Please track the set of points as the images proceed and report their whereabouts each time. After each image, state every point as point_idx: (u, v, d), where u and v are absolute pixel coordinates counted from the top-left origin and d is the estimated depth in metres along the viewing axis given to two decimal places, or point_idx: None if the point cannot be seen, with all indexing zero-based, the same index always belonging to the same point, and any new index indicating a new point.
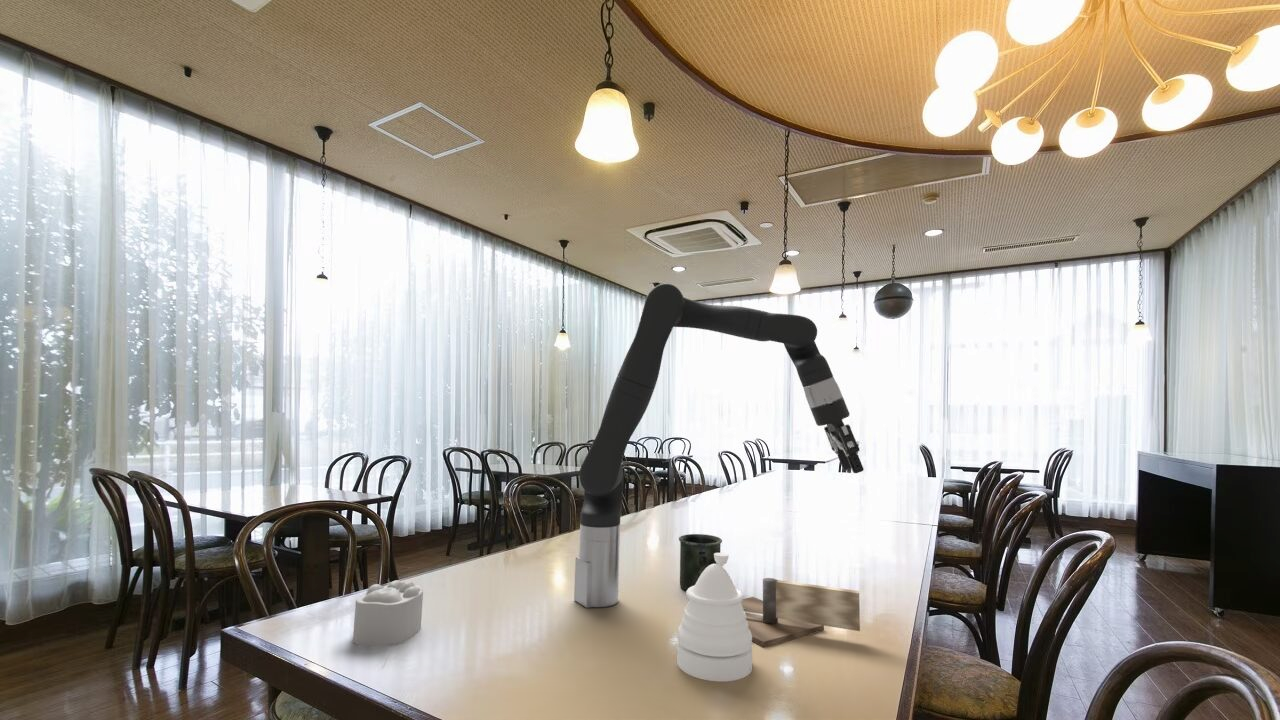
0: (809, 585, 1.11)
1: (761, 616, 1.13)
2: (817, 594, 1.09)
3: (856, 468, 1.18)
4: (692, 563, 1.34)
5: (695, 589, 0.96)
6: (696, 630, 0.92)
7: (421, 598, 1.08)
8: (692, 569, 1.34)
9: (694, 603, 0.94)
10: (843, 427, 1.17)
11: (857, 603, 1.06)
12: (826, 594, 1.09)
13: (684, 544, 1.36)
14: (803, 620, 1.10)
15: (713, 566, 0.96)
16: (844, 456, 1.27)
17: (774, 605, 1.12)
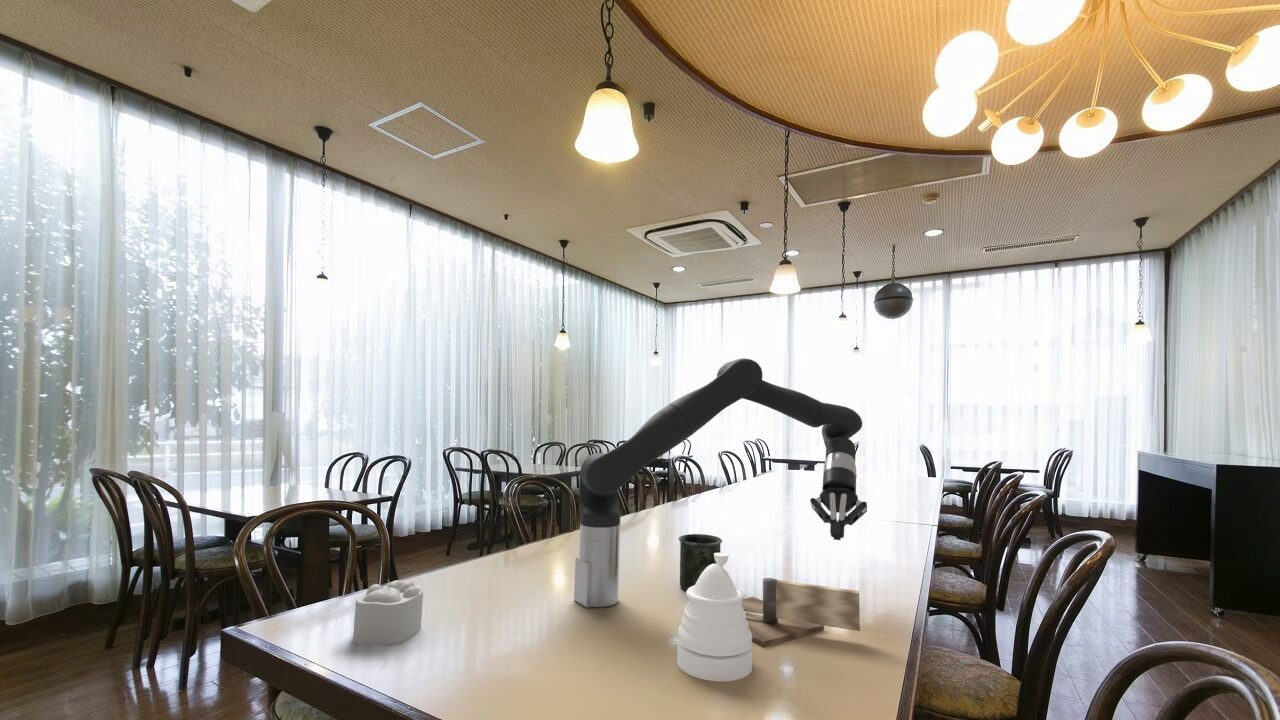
0: (809, 585, 1.11)
1: (761, 616, 1.13)
2: (817, 594, 1.09)
3: (843, 533, 1.22)
4: (692, 563, 1.34)
5: (695, 589, 0.96)
6: (696, 629, 0.92)
7: (421, 598, 1.08)
8: (692, 569, 1.34)
9: (694, 603, 0.94)
10: (866, 507, 1.26)
11: (857, 603, 1.06)
12: (826, 594, 1.09)
13: (684, 544, 1.36)
14: (803, 620, 1.10)
15: (713, 566, 0.97)
16: None
17: (774, 605, 1.12)
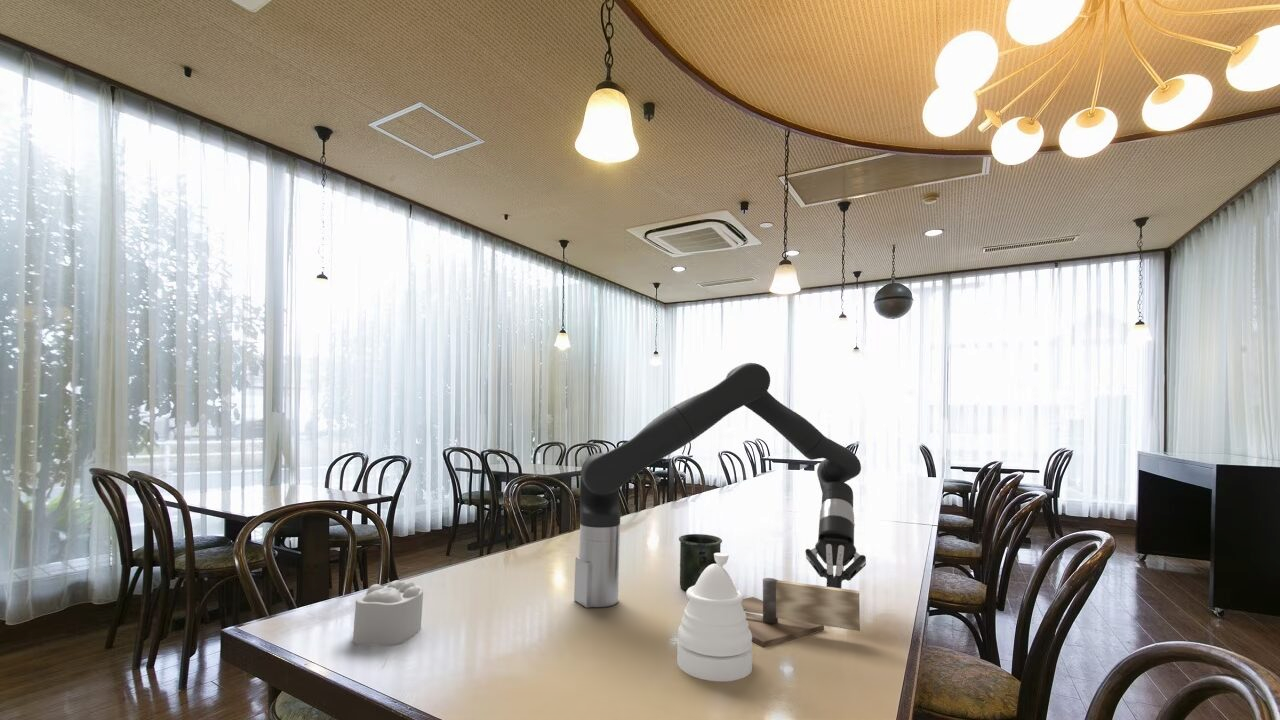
0: (809, 585, 1.11)
1: (761, 616, 1.13)
2: (817, 594, 1.09)
3: None
4: (692, 563, 1.34)
5: (695, 589, 0.96)
6: (696, 630, 0.92)
7: (421, 598, 1.08)
8: (692, 569, 1.34)
9: (694, 603, 0.94)
10: (865, 561, 1.18)
11: (857, 603, 1.06)
12: (826, 594, 1.09)
13: (684, 544, 1.36)
14: (803, 620, 1.10)
15: (713, 566, 0.96)
16: None
17: (774, 605, 1.12)
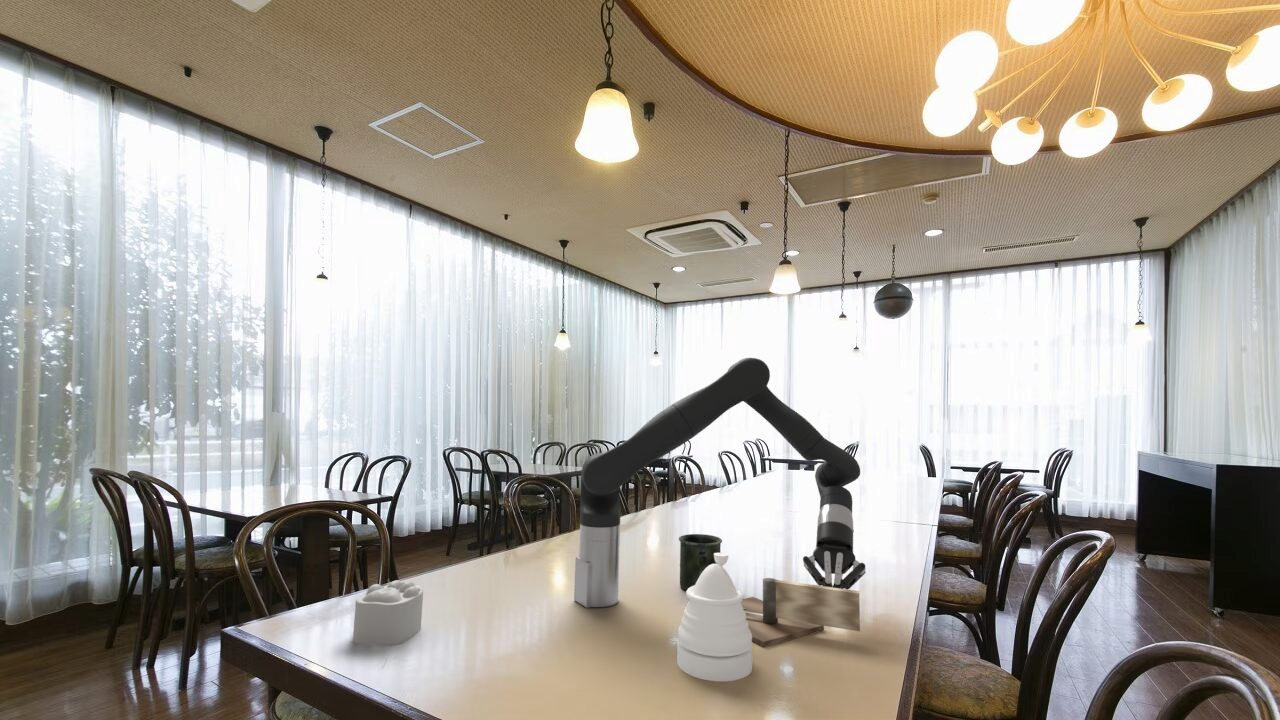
0: (809, 585, 1.11)
1: (761, 616, 1.13)
2: (817, 594, 1.09)
3: None
4: (692, 563, 1.34)
5: (695, 589, 0.96)
6: (696, 630, 0.92)
7: (421, 598, 1.08)
8: (692, 569, 1.34)
9: (694, 603, 0.94)
10: None
11: (857, 603, 1.06)
12: (826, 594, 1.08)
13: (684, 544, 1.36)
14: (803, 620, 1.10)
15: (713, 566, 0.97)
16: None
17: (774, 605, 1.12)
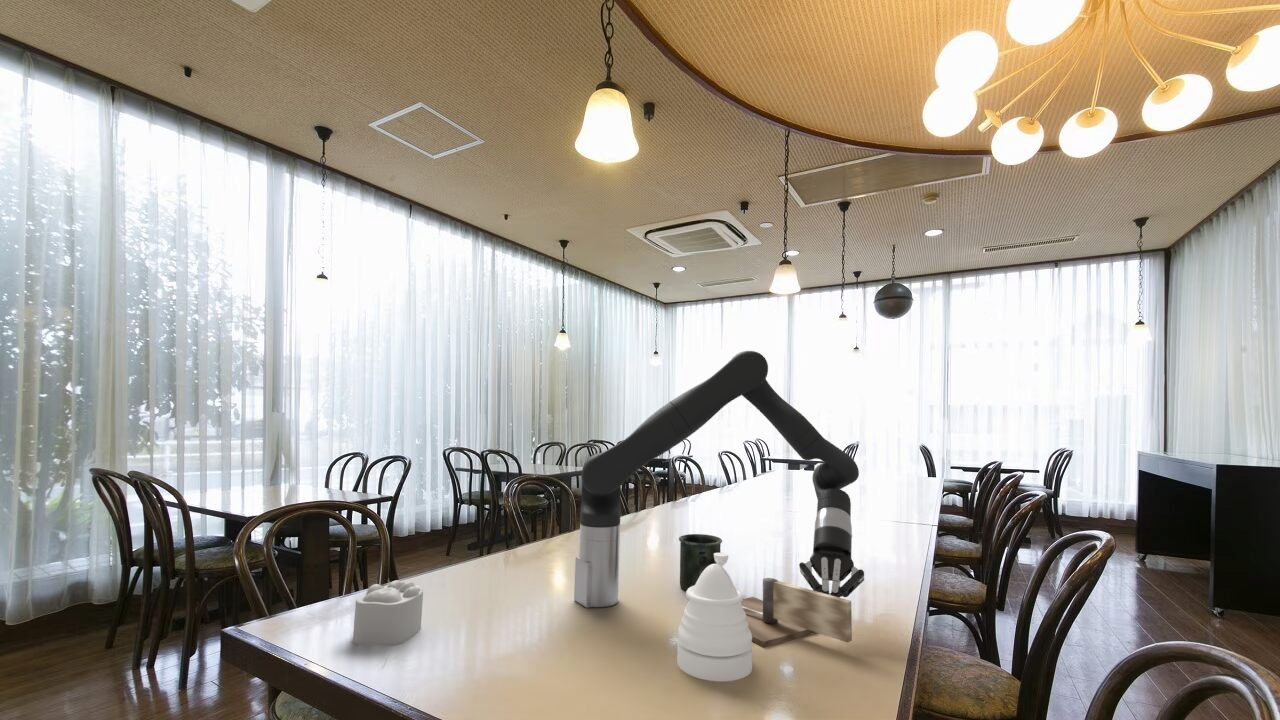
0: (803, 589, 1.08)
1: (762, 615, 1.14)
2: (809, 599, 1.06)
3: None
4: (692, 563, 1.34)
5: (695, 589, 0.96)
6: (696, 630, 0.92)
7: (421, 598, 1.08)
8: (692, 569, 1.34)
9: (694, 603, 0.94)
10: None
11: (845, 613, 1.01)
12: (817, 600, 1.05)
13: (684, 544, 1.36)
14: (796, 624, 1.08)
15: (713, 566, 0.96)
16: None
17: (771, 605, 1.12)
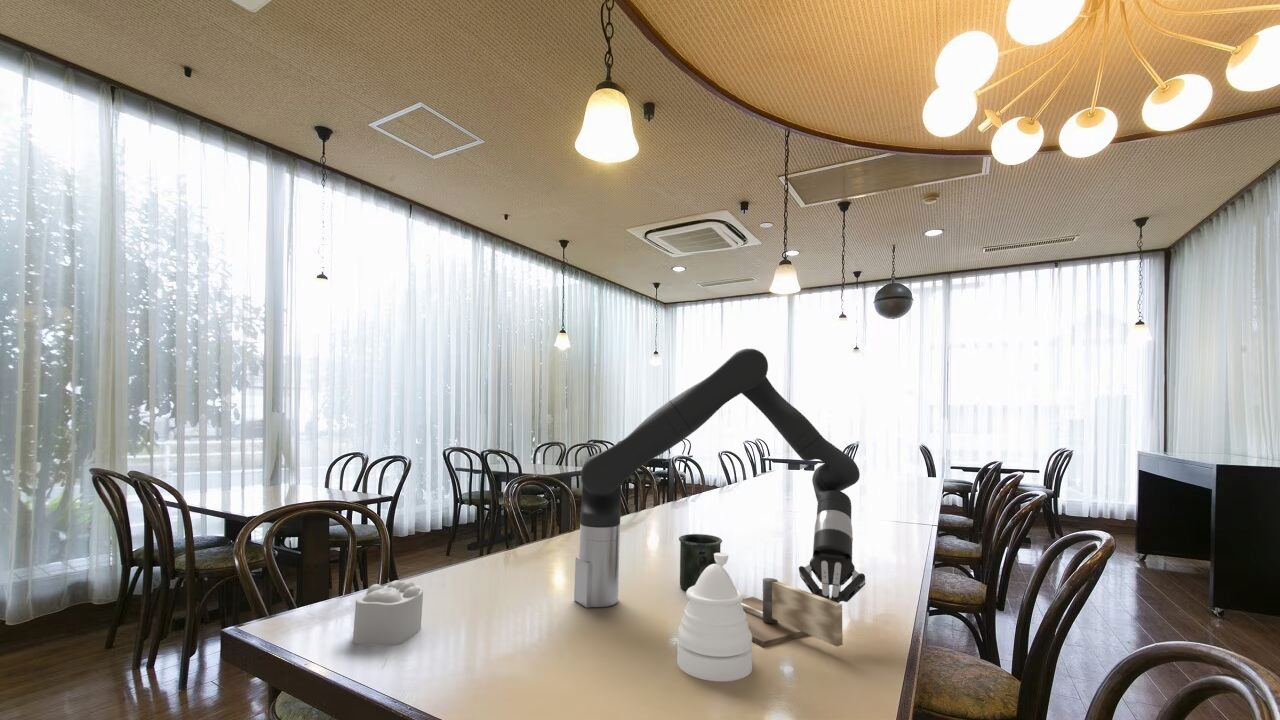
0: (799, 590, 1.07)
1: (763, 614, 1.14)
2: (802, 600, 1.05)
3: None
4: (692, 563, 1.34)
5: (695, 589, 0.96)
6: (696, 630, 0.92)
7: (421, 598, 1.08)
8: (692, 569, 1.34)
9: (694, 603, 0.94)
10: None
11: (834, 616, 0.99)
12: (809, 602, 1.04)
13: (684, 544, 1.36)
14: (792, 625, 1.07)
15: (713, 566, 0.96)
16: None
17: (770, 605, 1.12)
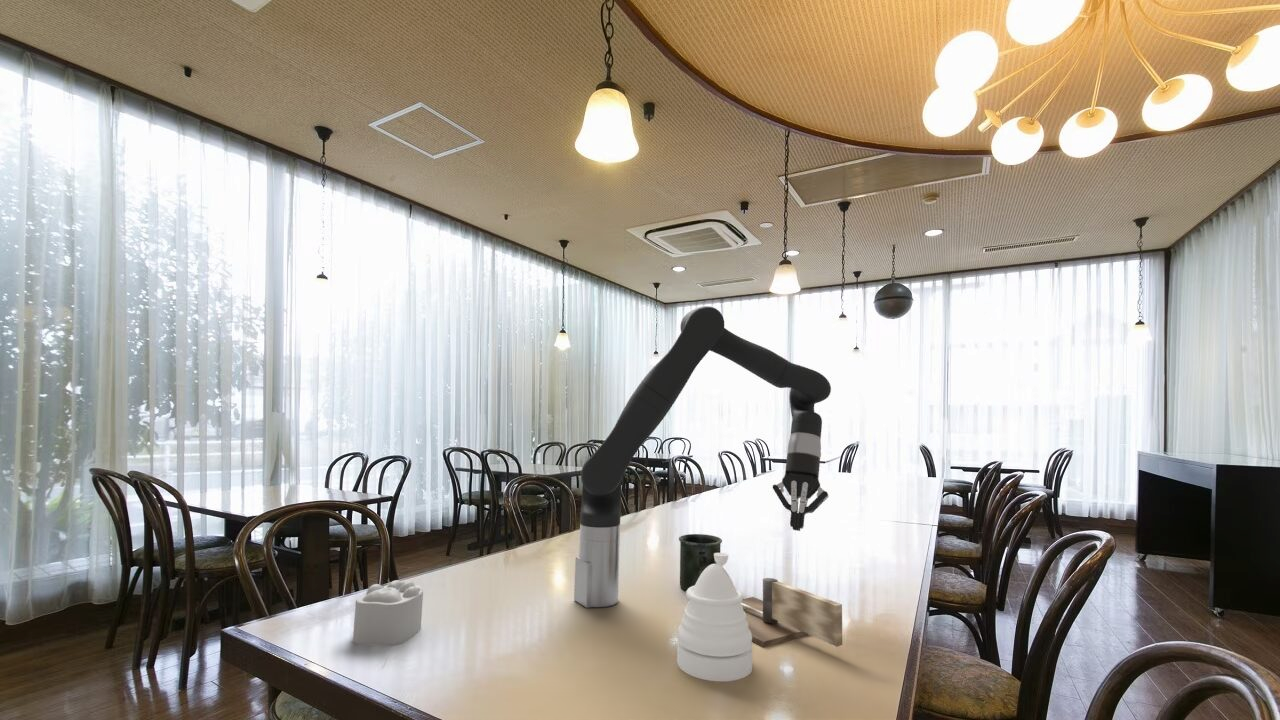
0: (799, 590, 1.07)
1: (763, 614, 1.14)
2: (802, 600, 1.05)
3: (802, 526, 1.25)
4: (692, 563, 1.34)
5: (695, 589, 0.96)
6: (696, 630, 0.92)
7: (421, 598, 1.08)
8: (692, 569, 1.34)
9: (694, 603, 0.94)
10: (827, 495, 1.25)
11: (834, 616, 0.99)
12: (809, 602, 1.04)
13: (684, 544, 1.36)
14: (792, 625, 1.07)
15: (713, 566, 0.96)
16: None
17: (770, 605, 1.12)
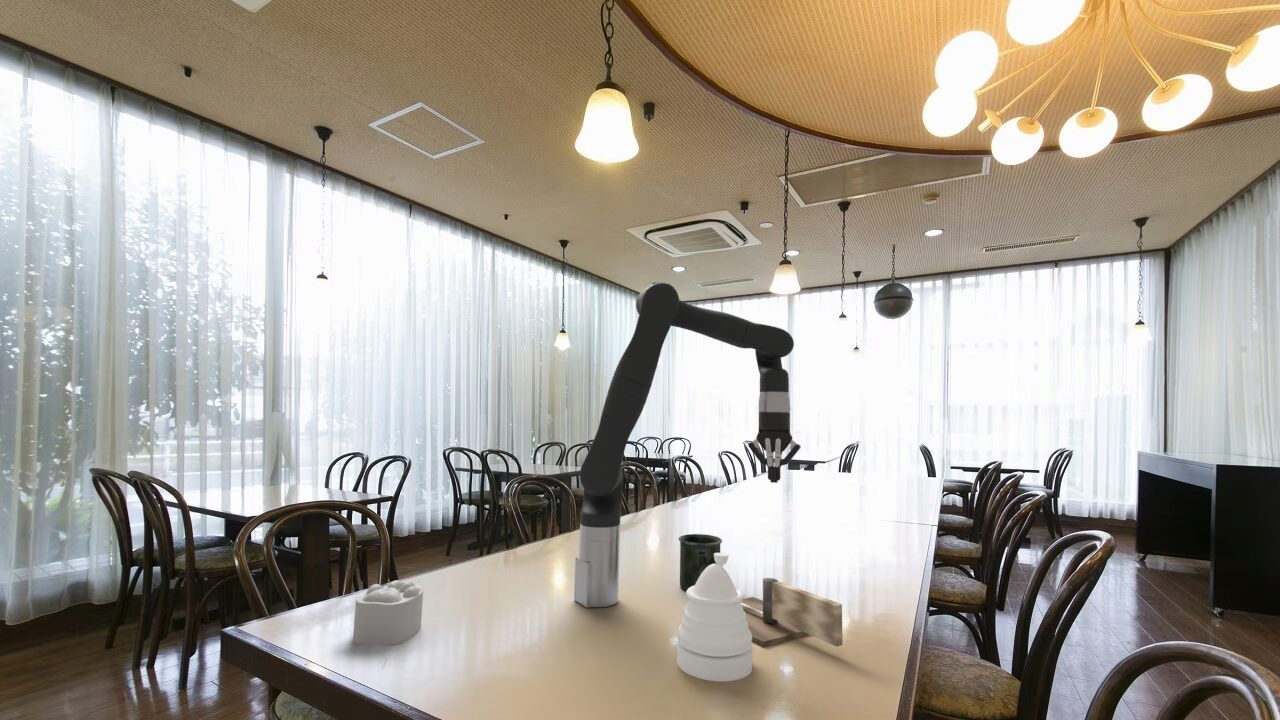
0: (799, 590, 1.07)
1: (763, 614, 1.14)
2: (802, 600, 1.05)
3: (779, 478, 1.34)
4: (692, 563, 1.34)
5: (695, 589, 0.96)
6: (696, 630, 0.92)
7: (421, 598, 1.08)
8: (692, 569, 1.34)
9: (694, 603, 0.94)
10: (800, 447, 1.33)
11: (834, 616, 0.99)
12: (809, 602, 1.04)
13: (684, 544, 1.36)
14: (792, 625, 1.07)
15: (713, 566, 0.96)
16: None
17: (770, 605, 1.12)
